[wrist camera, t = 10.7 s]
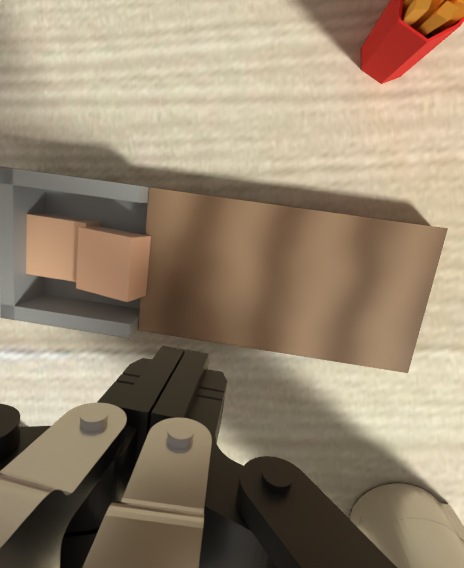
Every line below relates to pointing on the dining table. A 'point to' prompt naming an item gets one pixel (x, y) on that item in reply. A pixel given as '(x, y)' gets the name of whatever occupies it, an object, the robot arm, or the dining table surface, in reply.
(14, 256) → the tray
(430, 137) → the dining table surface
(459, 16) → the french fries
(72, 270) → the tile
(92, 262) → the tile
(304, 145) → the dining table surface
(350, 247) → the board
